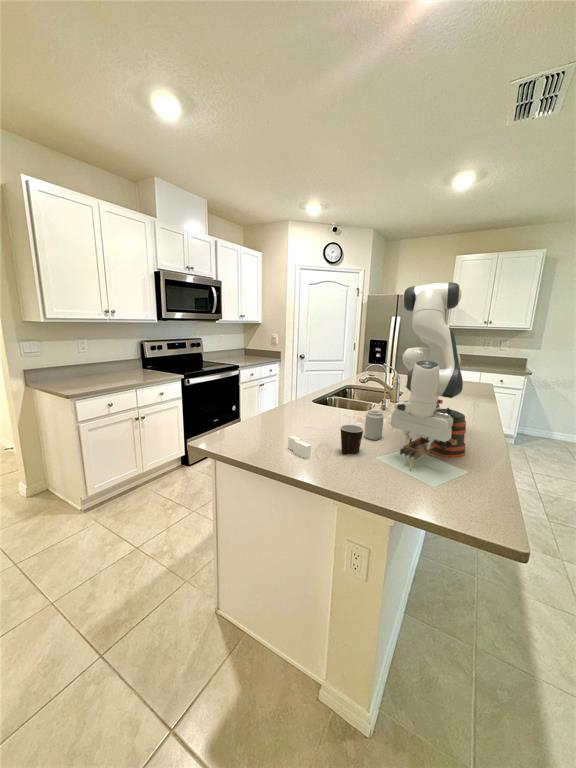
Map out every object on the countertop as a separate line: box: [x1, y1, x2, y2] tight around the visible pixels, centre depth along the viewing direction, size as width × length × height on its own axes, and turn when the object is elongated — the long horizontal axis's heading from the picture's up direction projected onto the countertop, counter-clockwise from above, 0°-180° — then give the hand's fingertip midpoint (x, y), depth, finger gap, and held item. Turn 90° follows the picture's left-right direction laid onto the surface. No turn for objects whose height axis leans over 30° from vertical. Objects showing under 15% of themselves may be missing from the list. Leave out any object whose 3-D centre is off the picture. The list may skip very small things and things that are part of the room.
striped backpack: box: [425, 407, 467, 459], centre depth 119 cm, size 19×15×20 cm
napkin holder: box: [287, 435, 312, 460], centre depth 118 cm, size 15×11×6 cm
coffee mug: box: [339, 424, 364, 456], centre depth 117 cm, size 12×9×10 cm
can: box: [363, 409, 385, 441], centre depth 135 cm, size 8×8×12 cm
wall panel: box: [375, 450, 470, 488], centre depth 109 cm, size 20×24×1 cm
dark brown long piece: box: [399, 436, 435, 460], centre depth 110 cm, size 16×5×2 cm, turn 134°
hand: (417, 445), depth 109 cm, fingers closed on dark brown long piece, 5 cm apart
